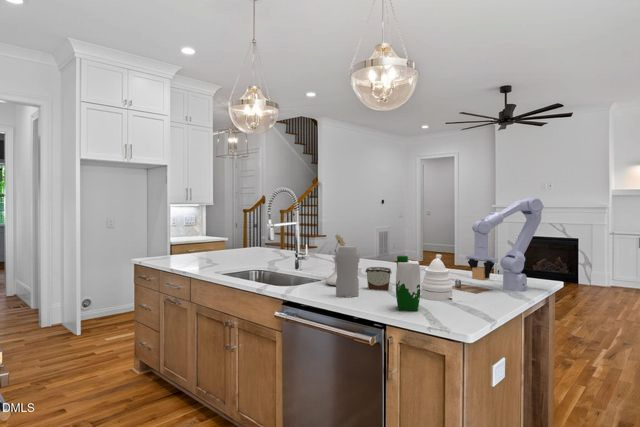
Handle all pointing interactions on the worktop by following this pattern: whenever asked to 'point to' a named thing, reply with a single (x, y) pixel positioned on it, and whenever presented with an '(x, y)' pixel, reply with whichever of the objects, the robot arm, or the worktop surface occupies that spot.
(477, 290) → the board
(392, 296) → the worktop surface
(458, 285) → the small grey jar
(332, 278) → the flower in vase
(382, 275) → the food container
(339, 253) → the tall pale column
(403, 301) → the milk carton
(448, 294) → the honey pot
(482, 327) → the worktop surface
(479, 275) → the tan shipping carton
